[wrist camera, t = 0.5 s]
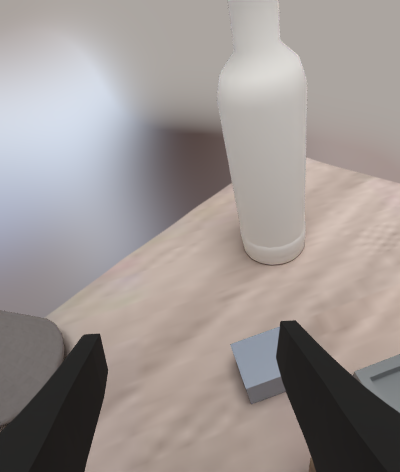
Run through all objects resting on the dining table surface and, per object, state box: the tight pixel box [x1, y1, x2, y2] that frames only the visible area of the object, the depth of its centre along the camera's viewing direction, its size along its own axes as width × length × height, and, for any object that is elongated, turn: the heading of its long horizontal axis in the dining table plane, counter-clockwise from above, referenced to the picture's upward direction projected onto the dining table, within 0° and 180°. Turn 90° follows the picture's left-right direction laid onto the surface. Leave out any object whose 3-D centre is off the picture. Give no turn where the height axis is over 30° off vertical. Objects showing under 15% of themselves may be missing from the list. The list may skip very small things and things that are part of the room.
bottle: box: [217, 0, 307, 265], centre depth 29 cm, size 8×8×30 cm
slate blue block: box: [230, 327, 286, 404], centre depth 27 cm, size 4×6×4 cm, turn 104°
